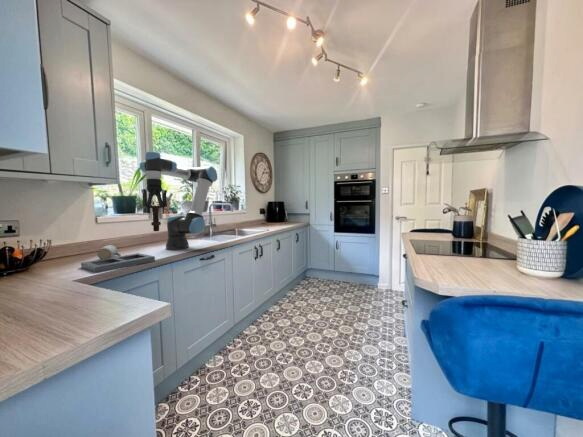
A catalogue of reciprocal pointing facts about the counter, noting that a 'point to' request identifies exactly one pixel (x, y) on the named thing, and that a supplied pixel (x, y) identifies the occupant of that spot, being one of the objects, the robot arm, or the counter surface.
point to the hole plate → (116, 262)
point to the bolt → (155, 217)
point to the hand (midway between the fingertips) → (155, 218)
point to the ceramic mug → (108, 252)
